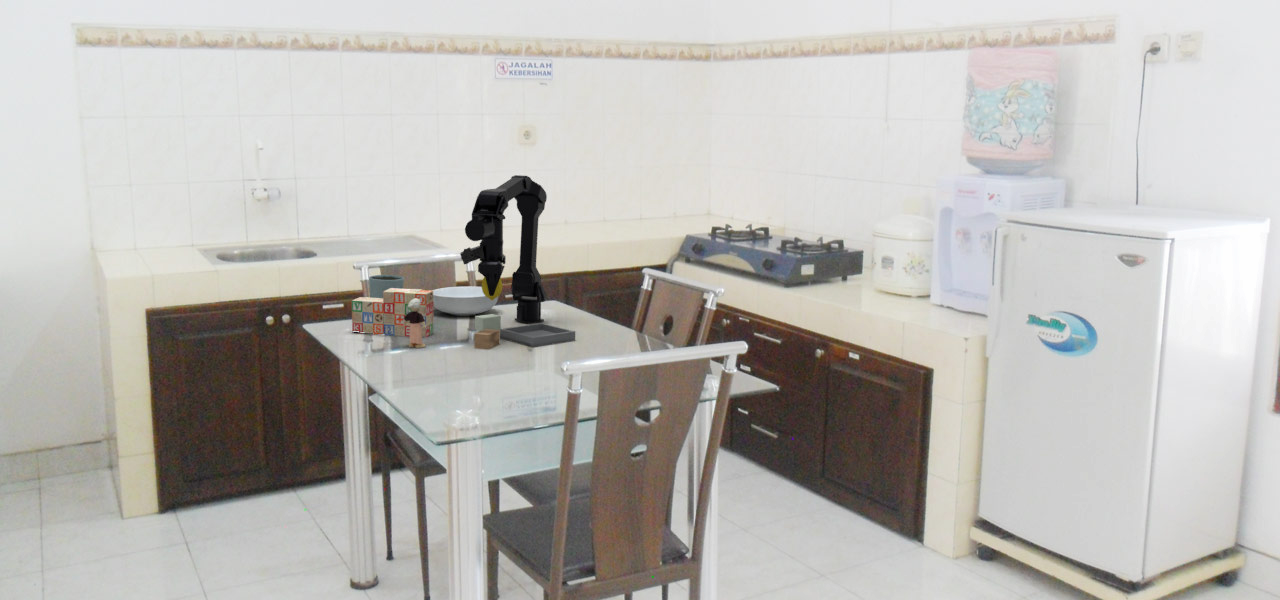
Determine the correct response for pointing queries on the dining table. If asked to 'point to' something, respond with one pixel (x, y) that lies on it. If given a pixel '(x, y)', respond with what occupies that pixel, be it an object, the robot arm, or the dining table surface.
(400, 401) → the dining table surface
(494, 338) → the walnut block
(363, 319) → the stack of blocks
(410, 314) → the grandmother figurine
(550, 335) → the charcoal tray
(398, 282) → the blue-grey pot
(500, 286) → the lemon
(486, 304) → the serving bowl
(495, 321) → the sage block
